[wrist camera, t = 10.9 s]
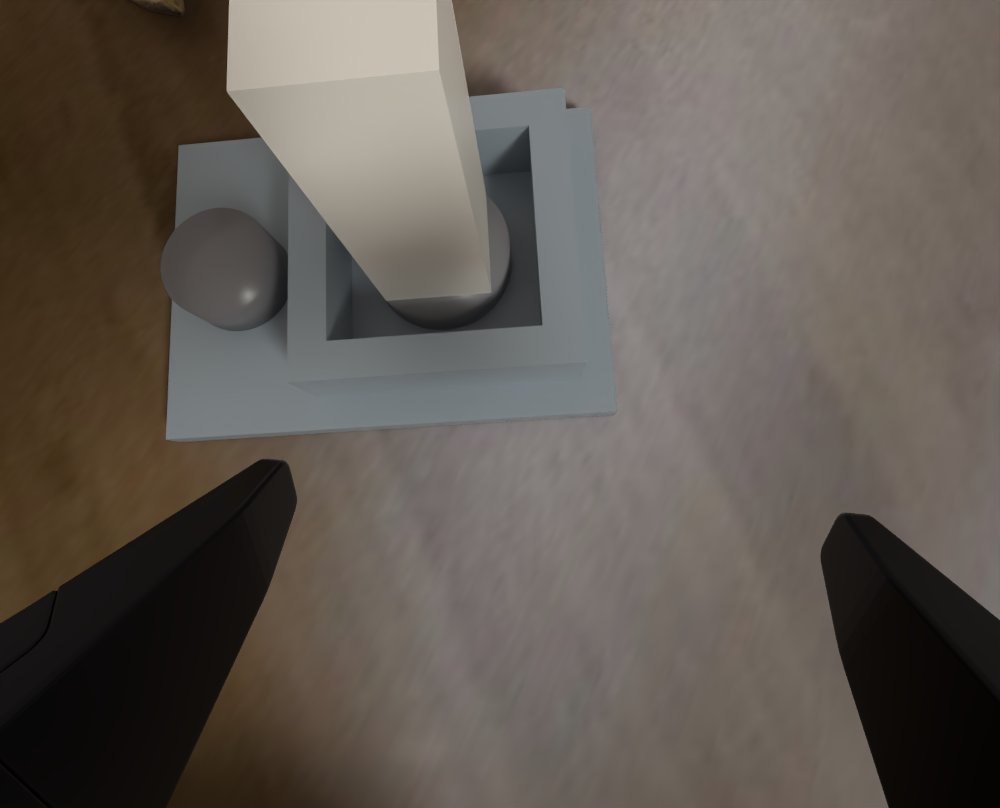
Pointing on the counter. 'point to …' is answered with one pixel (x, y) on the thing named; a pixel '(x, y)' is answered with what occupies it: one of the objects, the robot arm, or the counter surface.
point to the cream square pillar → (378, 143)
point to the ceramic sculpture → (163, 6)
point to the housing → (364, 312)
